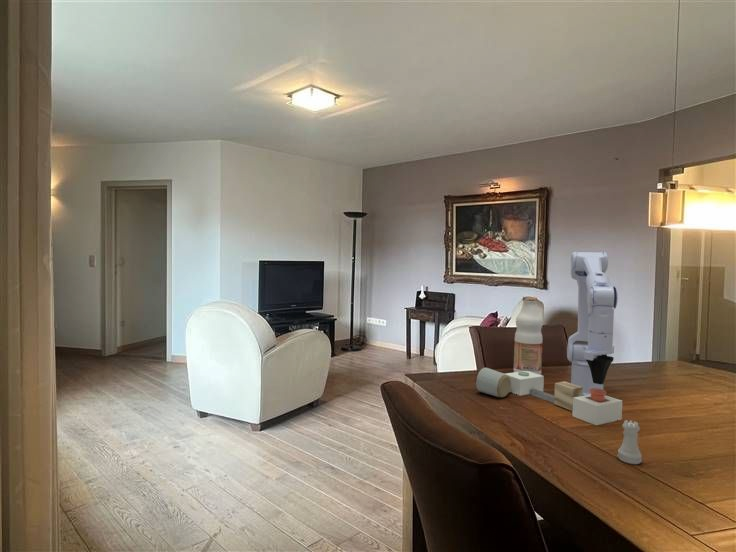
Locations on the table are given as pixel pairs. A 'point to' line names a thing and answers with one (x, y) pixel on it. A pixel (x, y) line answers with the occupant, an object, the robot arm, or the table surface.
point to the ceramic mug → (493, 382)
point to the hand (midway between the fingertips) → (598, 383)
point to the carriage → (566, 394)
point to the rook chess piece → (630, 444)
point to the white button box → (525, 382)
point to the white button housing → (597, 409)
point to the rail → (542, 395)
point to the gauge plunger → (597, 394)
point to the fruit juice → (528, 338)
